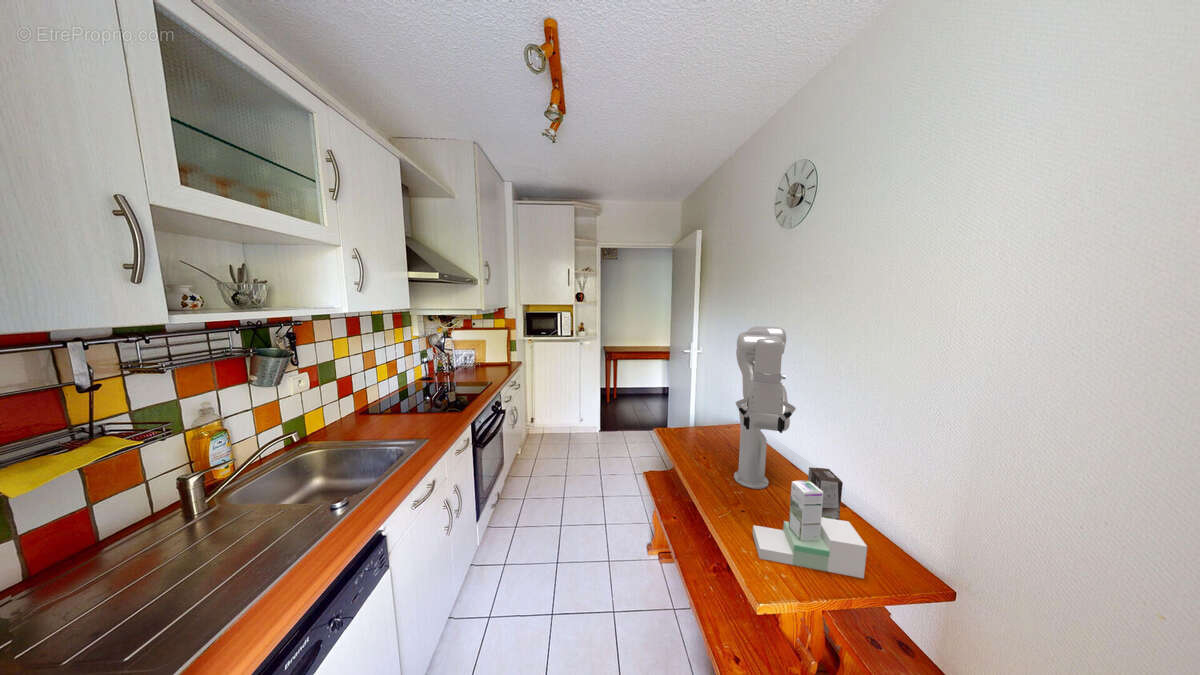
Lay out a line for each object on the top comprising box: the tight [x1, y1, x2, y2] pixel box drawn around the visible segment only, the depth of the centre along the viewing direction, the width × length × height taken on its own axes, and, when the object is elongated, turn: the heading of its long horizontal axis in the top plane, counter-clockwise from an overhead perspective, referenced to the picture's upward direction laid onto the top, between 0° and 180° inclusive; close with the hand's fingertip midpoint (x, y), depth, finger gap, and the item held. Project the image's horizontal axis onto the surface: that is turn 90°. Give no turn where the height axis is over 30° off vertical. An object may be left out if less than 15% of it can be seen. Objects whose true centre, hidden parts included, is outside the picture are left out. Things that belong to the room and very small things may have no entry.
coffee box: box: [807, 467, 844, 520], centre depth 107 cm, size 9×6×16 cm
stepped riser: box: [752, 517, 868, 579], centre depth 93 cm, size 10×25×9 cm, turn 75°
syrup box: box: [788, 480, 823, 541], centre depth 92 cm, size 6×6×14 cm
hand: (763, 429), depth 106 cm, fingers open, 9 cm apart
